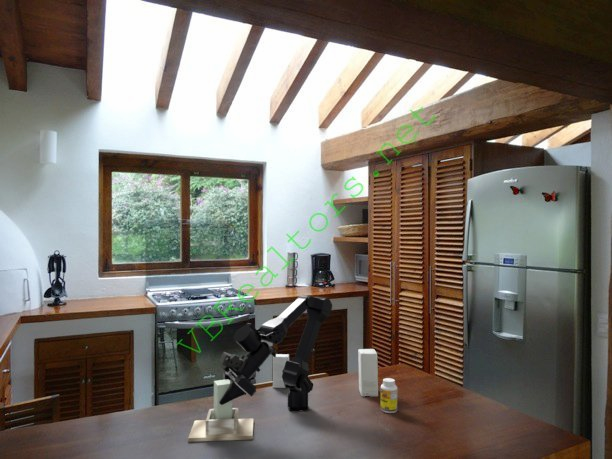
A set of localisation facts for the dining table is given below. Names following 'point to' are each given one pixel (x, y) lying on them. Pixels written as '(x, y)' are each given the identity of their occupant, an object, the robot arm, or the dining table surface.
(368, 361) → the skincare box
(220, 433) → the holder
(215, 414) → the peg
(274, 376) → the skincare box
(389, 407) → the supplement bottle
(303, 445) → the dining table surface
